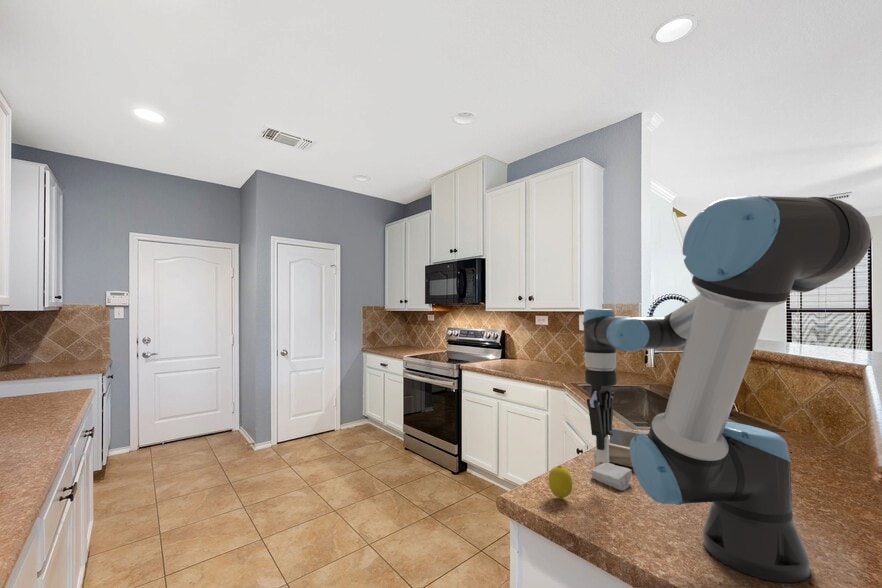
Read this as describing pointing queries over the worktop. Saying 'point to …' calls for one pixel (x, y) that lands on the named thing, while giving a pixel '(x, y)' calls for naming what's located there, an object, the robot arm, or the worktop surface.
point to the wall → (622, 436)
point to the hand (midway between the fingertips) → (602, 461)
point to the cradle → (617, 455)
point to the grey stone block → (612, 475)
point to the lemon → (560, 482)
